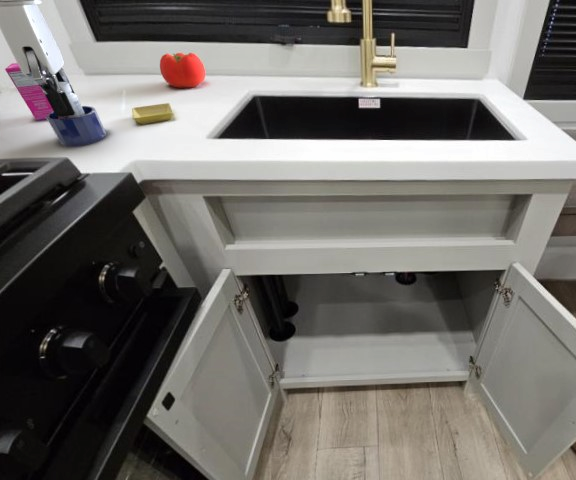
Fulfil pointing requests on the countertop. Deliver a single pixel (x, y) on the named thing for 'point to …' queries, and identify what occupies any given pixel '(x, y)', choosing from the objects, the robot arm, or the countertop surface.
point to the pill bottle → (71, 101)
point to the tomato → (182, 70)
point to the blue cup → (78, 128)
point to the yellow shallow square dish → (152, 113)
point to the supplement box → (30, 92)
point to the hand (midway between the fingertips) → (68, 110)
